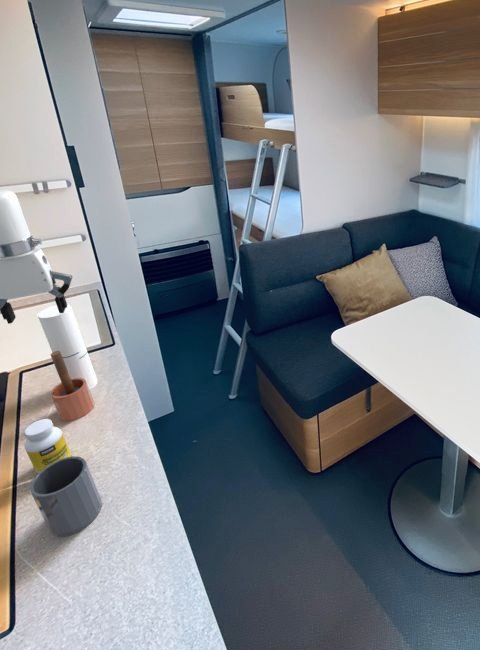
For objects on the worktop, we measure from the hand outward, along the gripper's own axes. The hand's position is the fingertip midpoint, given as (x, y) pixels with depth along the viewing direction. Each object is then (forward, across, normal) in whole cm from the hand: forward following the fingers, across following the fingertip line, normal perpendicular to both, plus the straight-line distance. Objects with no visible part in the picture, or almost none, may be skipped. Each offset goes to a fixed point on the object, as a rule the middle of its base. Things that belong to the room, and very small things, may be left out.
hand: (38, 315), depth 96 cm
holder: (+29, -1, 0) cm, 29 cm away
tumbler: (+30, -5, +34) cm, 45 cm away
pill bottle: (+30, +1, +18) cm, 35 cm away
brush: (+29, -1, 0) cm, 29 cm away
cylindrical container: (+30, -1, -11) cm, 32 cm away
